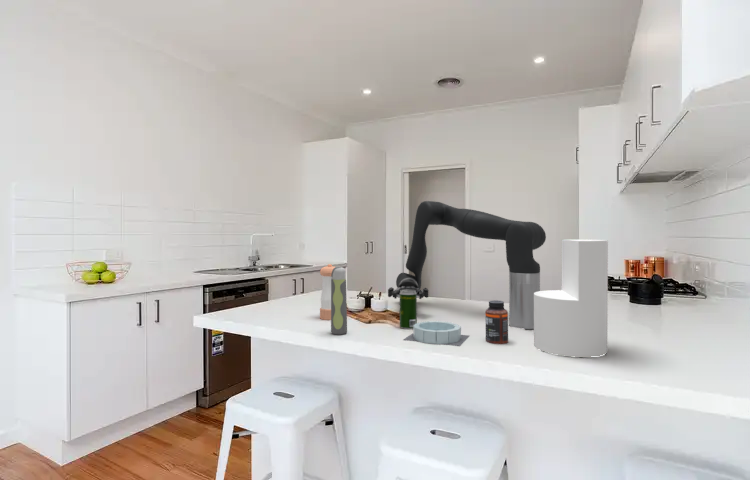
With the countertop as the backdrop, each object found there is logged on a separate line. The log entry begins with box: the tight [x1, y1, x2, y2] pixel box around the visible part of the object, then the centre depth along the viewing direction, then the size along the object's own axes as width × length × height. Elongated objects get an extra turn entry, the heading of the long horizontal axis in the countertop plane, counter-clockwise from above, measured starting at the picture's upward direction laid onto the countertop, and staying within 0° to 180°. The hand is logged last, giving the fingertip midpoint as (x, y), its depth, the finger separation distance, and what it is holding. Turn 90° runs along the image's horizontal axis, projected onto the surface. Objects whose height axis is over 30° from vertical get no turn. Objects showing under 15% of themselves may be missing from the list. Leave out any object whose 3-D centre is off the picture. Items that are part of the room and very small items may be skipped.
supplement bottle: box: [484, 299, 509, 345], centre depth 114 cm, size 6×6×11 cm
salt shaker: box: [319, 263, 336, 321], centre depth 148 cm, size 7×7×19 cm
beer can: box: [399, 289, 418, 330], centre depth 131 cm, size 5×5×12 cm
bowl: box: [412, 320, 462, 345], centre depth 118 cm, size 13×13×3 cm
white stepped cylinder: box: [533, 238, 609, 357], centre depth 108 cm, size 17×17×28 cm
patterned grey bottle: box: [330, 266, 348, 336], centre depth 126 cm, size 5×5×20 cm
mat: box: [402, 333, 470, 347], centre depth 118 cm, size 16×12×1 cm
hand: (407, 295), depth 143 cm, fingers open, 8 cm apart
